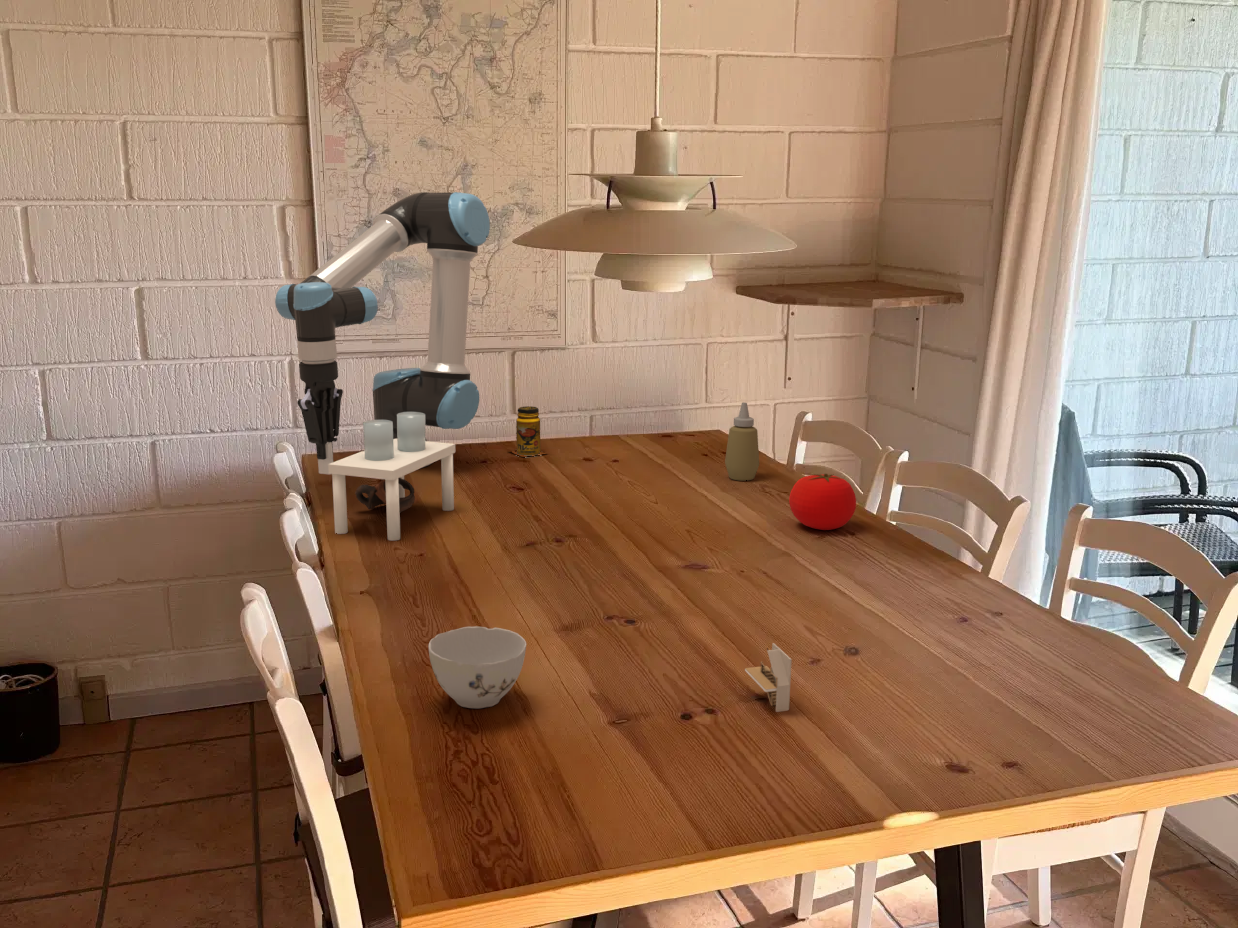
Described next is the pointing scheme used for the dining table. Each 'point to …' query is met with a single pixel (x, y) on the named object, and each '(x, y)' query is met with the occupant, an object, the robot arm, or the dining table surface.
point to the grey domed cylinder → (411, 431)
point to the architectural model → (774, 678)
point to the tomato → (822, 501)
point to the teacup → (477, 664)
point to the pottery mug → (384, 495)
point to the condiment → (528, 431)
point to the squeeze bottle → (742, 447)
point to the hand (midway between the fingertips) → (326, 472)
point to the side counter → (391, 480)
